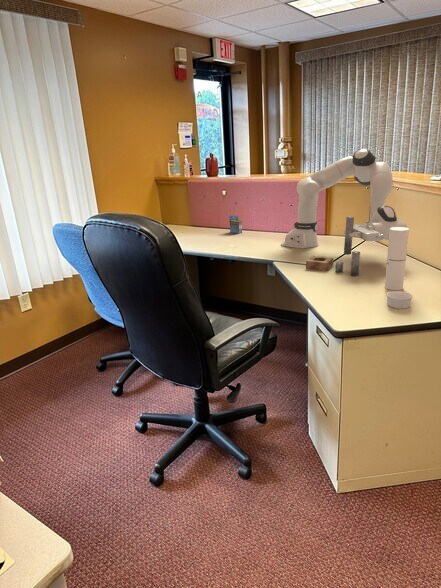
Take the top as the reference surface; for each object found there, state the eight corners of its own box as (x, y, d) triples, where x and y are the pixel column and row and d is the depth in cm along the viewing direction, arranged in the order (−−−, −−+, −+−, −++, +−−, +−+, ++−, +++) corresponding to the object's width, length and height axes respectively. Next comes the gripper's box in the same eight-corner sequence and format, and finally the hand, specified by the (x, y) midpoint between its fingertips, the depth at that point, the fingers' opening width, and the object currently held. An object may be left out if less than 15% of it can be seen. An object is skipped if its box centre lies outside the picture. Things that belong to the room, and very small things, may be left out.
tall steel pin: (342, 254, 203) (345, 217, 197) (344, 252, 206) (347, 216, 199) (350, 255, 201) (353, 217, 195) (351, 253, 204) (354, 216, 198)
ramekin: (385, 308, 155) (386, 297, 153) (385, 300, 162) (386, 289, 161) (411, 310, 152) (413, 299, 150) (410, 302, 159) (411, 291, 158)
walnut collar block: (306, 268, 207) (306, 260, 206) (313, 263, 215) (313, 255, 214) (326, 270, 202) (327, 263, 200) (333, 265, 210) (333, 257, 209)
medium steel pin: (349, 275, 193) (351, 252, 189) (351, 273, 196) (353, 250, 192) (357, 276, 191) (358, 253, 188) (359, 274, 194) (360, 251, 190)
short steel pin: (334, 272, 199) (335, 263, 198) (336, 270, 202) (337, 261, 201) (341, 272, 198) (342, 263, 196) (343, 270, 201) (344, 262, 199)
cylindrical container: (394, 291, 171) (400, 231, 162) (380, 286, 177) (385, 228, 168) (406, 287, 174) (413, 228, 165) (392, 283, 180) (398, 226, 171)
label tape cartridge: (242, 232, 297) (241, 215, 293) (239, 233, 295) (238, 216, 290) (233, 231, 303) (232, 214, 299) (229, 232, 300) (228, 215, 296)
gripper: (384, 243, 193) (356, 245, 191) (363, 233, 212) (337, 235, 210) (386, 229, 191) (357, 231, 189) (364, 221, 210) (338, 223, 208)
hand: (347, 233), depth 200 cm, fingers closed on tall steel pin, 3 cm apart
